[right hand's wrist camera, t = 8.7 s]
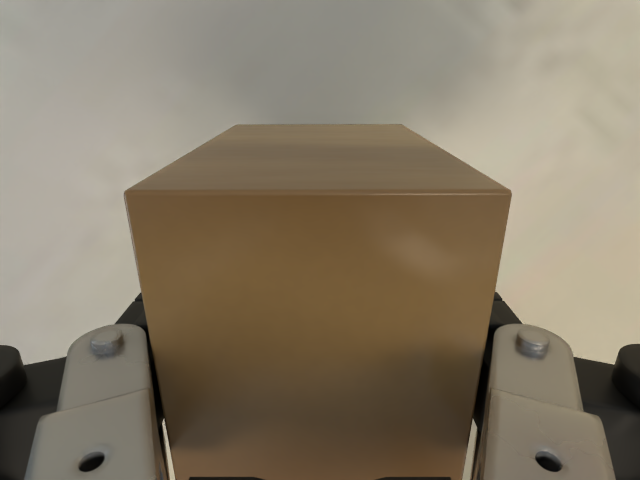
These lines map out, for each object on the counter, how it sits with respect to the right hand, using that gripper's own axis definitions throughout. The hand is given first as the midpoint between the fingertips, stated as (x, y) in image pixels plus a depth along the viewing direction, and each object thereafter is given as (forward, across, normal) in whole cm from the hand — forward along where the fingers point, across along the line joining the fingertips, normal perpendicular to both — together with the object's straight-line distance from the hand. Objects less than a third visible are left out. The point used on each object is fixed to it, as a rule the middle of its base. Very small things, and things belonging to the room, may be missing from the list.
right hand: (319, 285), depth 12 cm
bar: (+4, 0, -9) cm, 10 cm away
